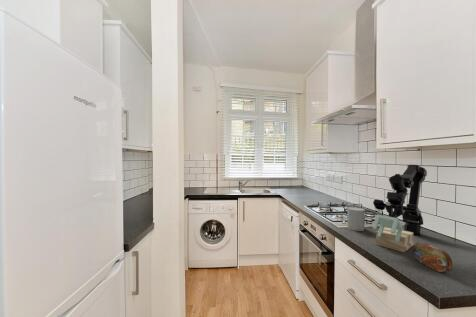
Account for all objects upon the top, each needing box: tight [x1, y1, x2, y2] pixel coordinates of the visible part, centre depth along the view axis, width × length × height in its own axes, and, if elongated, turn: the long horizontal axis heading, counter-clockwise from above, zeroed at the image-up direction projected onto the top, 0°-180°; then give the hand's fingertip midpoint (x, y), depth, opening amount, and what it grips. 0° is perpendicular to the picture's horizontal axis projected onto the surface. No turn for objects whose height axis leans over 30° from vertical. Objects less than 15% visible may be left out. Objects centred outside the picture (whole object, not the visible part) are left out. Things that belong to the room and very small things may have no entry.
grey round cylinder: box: [346, 206, 366, 232], centre depth 141 cm, size 10×10×12 cm
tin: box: [412, 242, 453, 273], centre depth 92 cm, size 15×3×8 cm, turn 4°
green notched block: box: [372, 213, 404, 242], centre depth 109 cm, size 8×9×9 cm
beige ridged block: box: [375, 227, 414, 253], centre depth 115 cm, size 14×12×6 cm
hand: (390, 220), depth 111 cm, fingers closed
